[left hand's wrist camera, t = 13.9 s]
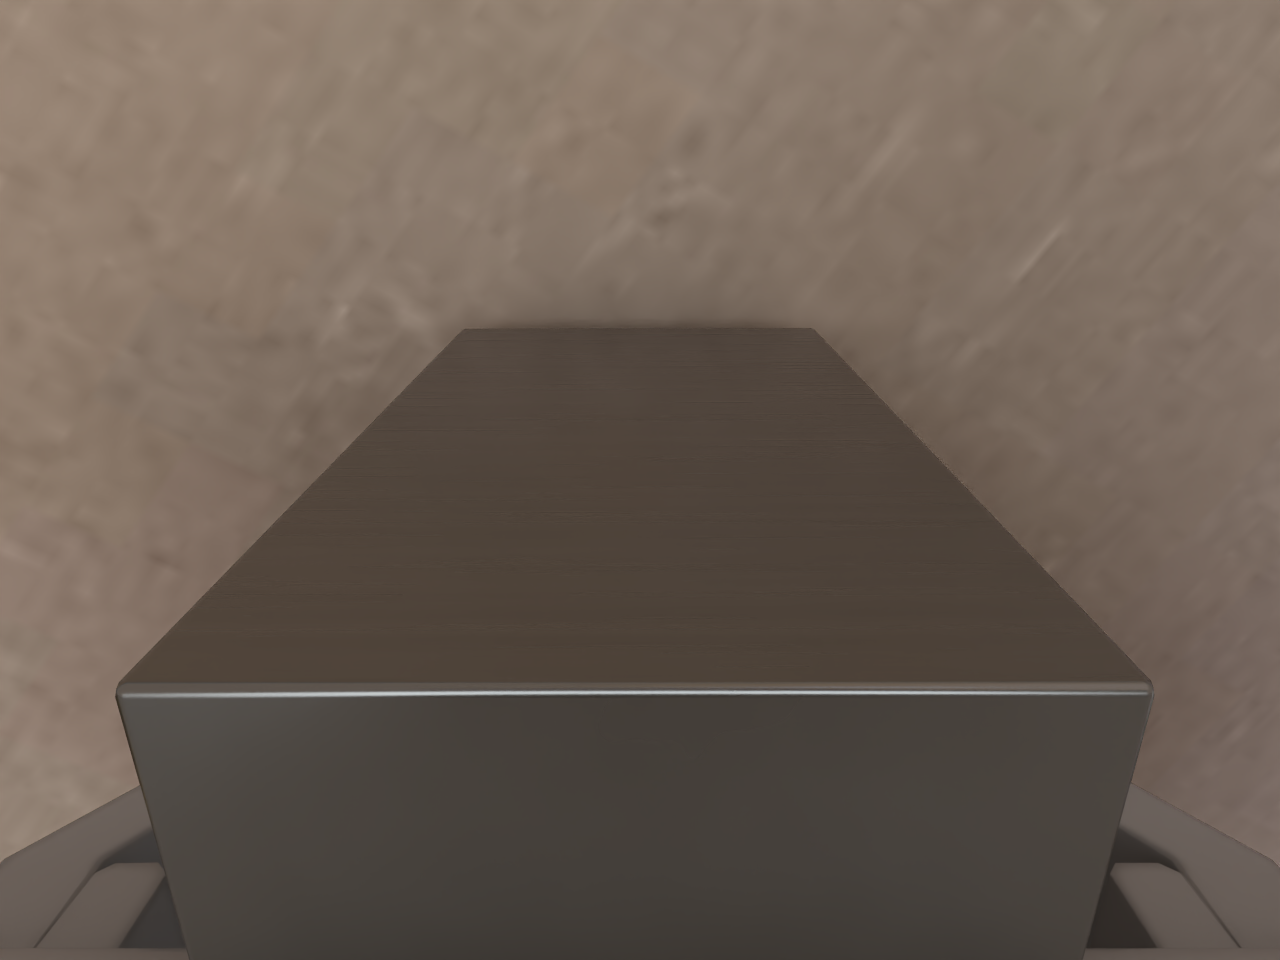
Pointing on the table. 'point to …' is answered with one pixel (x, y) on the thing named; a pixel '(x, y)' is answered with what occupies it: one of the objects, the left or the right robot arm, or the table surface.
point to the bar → (636, 682)
